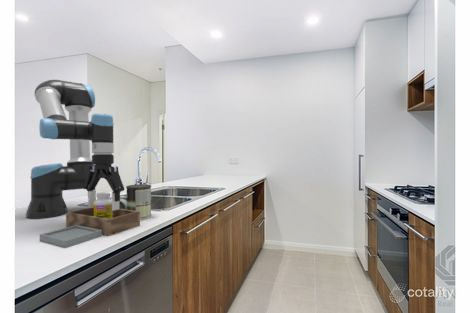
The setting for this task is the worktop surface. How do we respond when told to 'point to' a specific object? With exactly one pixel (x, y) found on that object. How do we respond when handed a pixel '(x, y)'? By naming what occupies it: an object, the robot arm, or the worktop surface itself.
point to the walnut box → (104, 220)
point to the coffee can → (139, 199)
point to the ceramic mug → (122, 204)
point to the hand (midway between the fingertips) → (103, 208)
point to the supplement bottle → (103, 206)
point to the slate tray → (70, 235)
